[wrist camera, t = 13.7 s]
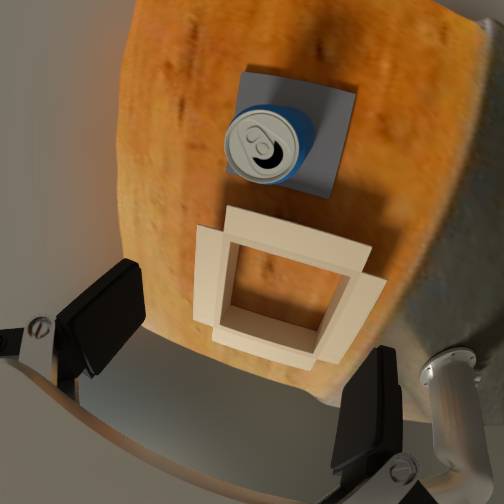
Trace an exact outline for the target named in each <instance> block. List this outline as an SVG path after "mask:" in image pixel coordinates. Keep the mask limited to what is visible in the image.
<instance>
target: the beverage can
mask: <svg viewBox="0 0 504 504" xmlns="http://www.w3.org/2000/svg"><path fill="white" fill-rule="evenodd" d="M314 141H315V130H314V126H313V124H312V122H311V120H310V119H309V117H308V116H307V115H306V114H305V113H303V112H302V111H300V110H298V109H296V108H293V107H288V106H279V105H269V104H261V105H255V106H251V107H249V108H247V109H245V110H243V111H242V112H240V113H239V114H238V115H237V116H236V117H235V118H234V119H233V120H232V122H231V123H230V125H229V127H228V130H227V133H226V136H225V141H224V148H225V154H226V157H227V160H228V162H229V164H230V165H231V167H232V168H233V169H234V170H235V171H236V172H237V173H238V174H239V175H240V176H242V177H243V178H245V179H247V180H249V181H252V182H255V183H259V184H276V183H280V182H282V181H285V180H287V179H289V178H290V177H291V176H293V175H294V174H295V173H296V172H297V171H298V170H299V168H300V167H301V165H302V164H303V162H304V160H305V159H306V157H307V155H308V154H309V152H310V151H311V149H312V147H313V144H314Z"/></svg>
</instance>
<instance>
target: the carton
mask: <svg viewBox="0 0 504 504" xmlns="http://www.w3.org/2000/svg"><path fill="white" fill-rule="evenodd" d="M240 245H244V246H247V247H251V248H254V249H257V250H261V251H264V252H268V253H271V254H274V255H278V256H281V257H285V258H288V259H291V260H295V261H298V262H302V263H305V264H308V265H312V266H315V267H319V268H322V269H325V270H329V271H332V272H335V273H339V274H342V276H341V279H340V281H339V283H338V286H337V288H336V290H335V293H334V295H333V297H332V299H331V302H330V304H329V306H328V308H327V310H326V313H325V315H324V317H323V319H322V321H321V323H320V325H319V327H318V330H317V331H314V330H310V329H307V328H303V327H300V326H296V325H293V324H290V323H286V322H283V321H280V320H276V319H273V318H270V317H266V316H263V315H260V314H257V313H254V312H251V311H248V310H244V309H241V308H238V307H235V306H232V305H230V304H231V298H232V291H233V285H234V278H235V272H236V266H237V259H238V253H239V247H240ZM371 249H372V246H370V245H367V244H364V243H361V242H358V241H354V240H351V239H348V238H345V237H341V236H338V235H335V234H332V233H328V232H325V231H322V230H318V229H315V228H311V227H308V226H305V225H301V224H298V223H294V222H291V221H287V220H283V219H280V218H276V217H273V216H269V215H265V214H262V213H258V212H254V211H251V210H247V209H243V208H239V207H235V206H231V205H227V209H226V217H225V225H224V231H222V230H219V229H215V228H212V227H208V226H205V225H201V224H198V225H197V238H196V255H195V275H194V302H193V320H196V321H198V322H201V323H204V324H206V325H209V326H212V327H213V334H212V341H215V342H218V343H220V344H223V345H226V346H229V347H232V348H235V349H238V350H241V351H244V352H247V353H250V354H253V355H256V356H259V357H262V358H265V359H269V360H272V361H275V362H279V363H282V364H286V365H289V366H293V367H296V368H300V369H304V370H307V371H310V370H311V369H312V367H313V365H314V364H315V362H316V360H317V359H318V360H322V361H326V362H330V363H334V364H338V363H339V362H340V360H341V359H342V357H343V356H344V354H345V353H346V351H347V350H348V348H349V346H350V345H351V343H352V342H353V340H354V338H355V337H356V335H357V334H358V332H359V330H360V329H361V327H362V325H363V324H364V322H365V320H366V318H367V317H368V315H369V313H370V312H371V310H372V308H373V306H374V304H375V303H376V301H377V299H378V297H379V295H380V293H381V292H382V290H383V288H384V286H385V284H386V282H387V279H385V278H382V277H379V276H375V275H372V274H369V273H365V272H362V270H363V268H364V266H365V263H366V261H367V259H368V256H369V254H370V252H371Z"/></svg>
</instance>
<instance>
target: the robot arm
mask: <svg viewBox="0 0 504 504" xmlns="http://www.w3.org/2000/svg"><path fill="white" fill-rule="evenodd" d="M145 317H146V311H145V303H144V294H143V283H142V272H141V268H139V264H138V263H137V262H134V261H132V260H130V259H127V258H124V259H123V260H121V261H120V262H119V263H117V264H116V265H115V266H114V267H113V268H111V269H110V270H109V271H108V272H106V273H105V274H104V275H103V276H102V277H100V278H99V279H98V280H97V281H96V282H94V283H93V284H92V285H91V286H90V287H89V288H87V289H86V290H85V291H84V292H83V293H82V294H80V295H79V296H78V297H77V298H76V299H75V300H73V301H72V302H71V303H70V304H69V305H68V306H67V307H66V308H64V309H63V310H62V311H61V312H60V313H59V314H58V315H57V316H56V318H57V319H56V320H55V321H54V319H53V318H52V317H51V316H50V315H47V314H38V315H35V316H33V317H32V318H31V319H29V320H28V322H27V323H26V325H25V327H24V328H15V329H3V330H0V504H312V503H306V502H300V501H295V500H290V499H285V498H281V497H276V496H272V495H268V494H264V493H260V492H256V491H252V490H249V489H245V488H242V487H239V486H235V485H232V484H229V483H226V482H223V481H220V480H217V479H215V478H212V477H209V476H206V475H204V474H202V473H199V472H197V471H194V470H192V469H189V468H187V467H184V466H183V465H180V464H178V463H176V462H174V461H171V460H169V459H167V458H165V457H163V456H161V455H159V454H157V453H155V452H153V451H151V450H150V449H148V448H146V447H144V446H142V445H140V444H138V443H137V442H135V441H133V440H132V439H130V438H128V437H126V436H125V435H123V434H121V433H120V432H118V431H117V430H115V429H113V428H112V427H110V426H109V425H107V424H105V423H104V422H103V421H101V420H100V419H98V418H97V417H95V416H94V415H92V414H91V413H90V412H88V411H87V410H86V409H84V408H83V407H81V406H80V399H79V375H80V374H81V373H84V374H85V375H86V376H88V377H89V378H91V379H92V378H93V377H94V376H95V375H99V374H100V373H101V372H102V370H103V369H104V368H105V367H106V365H107V364H108V363H109V362H110V361H111V360H112V358H113V357H114V356H115V355H116V354H117V352H118V351H119V350H120V349H121V348H122V346H123V345H124V344H125V343H126V342H127V340H128V339H129V338H130V337H131V336H132V335H133V333H134V332H135V331H136V330H137V329H138V328H139V326H140V325H141V324H142V323H143V322H144V320H145ZM475 363H476V356H475V353H474V351H473V350H472V349H470V348H467V347H456V348H452V349H448V350H446V351H443V352H441V353H439V354H438V355H436V356H434V357H433V358H432V359H430V360H429V361H428V362H427V363H426V364H425V365H424V367H423V368H422V370H421V372H420V382H421V384H422V385H423V386H424V387H426V388H429V394H430V403H431V412H432V424H433V442H434V453H435V455H436V457H437V458H438V460H440V461H441V462H442V463H444V464H445V465H447V466H448V467H449V470H448V471H446V472H444V473H441V474H439V475H436V476H433V477H429V478H426V479H422V480H418V478H419V475H420V464H419V462H418V460H417V458H416V457H415V456H414V455H412V454H410V453H407V452H402V442H403V409H402V390H401V387H400V385H398V374H397V361H396V351H395V349H394V348H391V347H387V346H383V345H380V346H379V347H378V348H373V350H372V351H371V352H370V354H369V355H368V357H367V358H366V359H365V361H364V362H363V363H362V365H361V366H360V367H359V369H358V370H357V371H356V372H355V374H354V375H353V376H352V378H351V379H350V380H349V381H348V383H347V384H346V385H345V387H344V389H343V392H342V398H341V406H340V413H339V420H338V427H337V433H336V439H335V445H334V451H333V456H332V461H331V468H332V469H334V471H333V475H337V476H342V477H341V482H340V486H338V487H337V488H336V489H334V490H333V491H332V492H331V493H329V494H328V495H327V496H325V497H324V498H323V499H321V500H320V501H318V502H317V503H316V504H485V503H486V502H487V501H488V499H489V498H490V496H491V494H492V492H493V488H494V479H493V473H492V468H491V464H490V460H489V455H488V450H487V444H486V437H485V431H484V424H483V418H482V412H481V407H480V402H479V397H478V392H477V386H478V382H477V381H480V379H481V375H478V374H475V372H474V366H475Z"/></svg>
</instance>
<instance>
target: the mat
mask: <svg viewBox="0 0 504 504" xmlns="http://www.w3.org/2000/svg"><path fill="white" fill-rule="evenodd" d="M355 95H356V94H353V93H350V92H346V91H343V90H339V89H335V88H332V87H328V86H324V85H319V84H315V83H311V82H306V81H301V80H296V79H291V78H285V77H279V76H273V75H266V74H259V73H251V72H242V74H241V80H240V85H239V91H238V97H237V103H236V110H235V116H234V118H235V117H236V116H237V115H238V114H239V113H240V112H242V111H243V110H245V109H247V108H249V107H251V106H255V105H261V104H269V105H279V106H288V107H293V108H296V109H298V110H300V111H302V112H303V113H305V114H306V115H307V116H308V117H309V119H310V120H311V122H312V124H313V126H314V130H315V141H314V144H313V147H312V149H311V151H310V152H309V154H308V155H307V157H306V159H305V160H304V162H303V164H302V165H301V167H300V168H299V170H298V171H297V172H296V173H295V174H294V175H293V176H291V177H290V178H289V179H287V180H285V181H282V182H280V183H276V184H275V185H279V186H282V187H286V188H290V189H294V190H297V191H301V192H305V193H308V194H312V195H315V196H319V197H322V198H326V199H329V198H330V195H331V191H332V188H333V184H334V180H335V177H336V173H337V169H338V166H339V162H340V158H341V154H342V150H343V146H344V142H345V138H346V134H347V130H348V126H349V122H350V117H351V113H352V109H353V104H354V100H355ZM226 173H229V174H233V175H237V176H240V175H239V174H238V173H237V172H236V171H235V170H234V169H233V168H232V167H231V165H230V164H229V162H228V163H227V170H226Z"/></svg>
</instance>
